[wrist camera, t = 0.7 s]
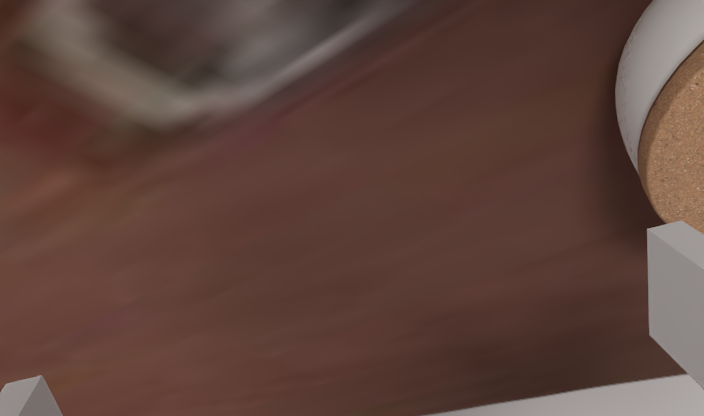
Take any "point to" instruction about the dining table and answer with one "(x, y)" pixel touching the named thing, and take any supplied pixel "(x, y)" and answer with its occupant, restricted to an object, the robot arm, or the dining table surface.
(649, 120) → the lidded jar
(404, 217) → the dining table surface
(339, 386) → the dining table surface
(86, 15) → the dining table surface
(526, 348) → the dining table surface
